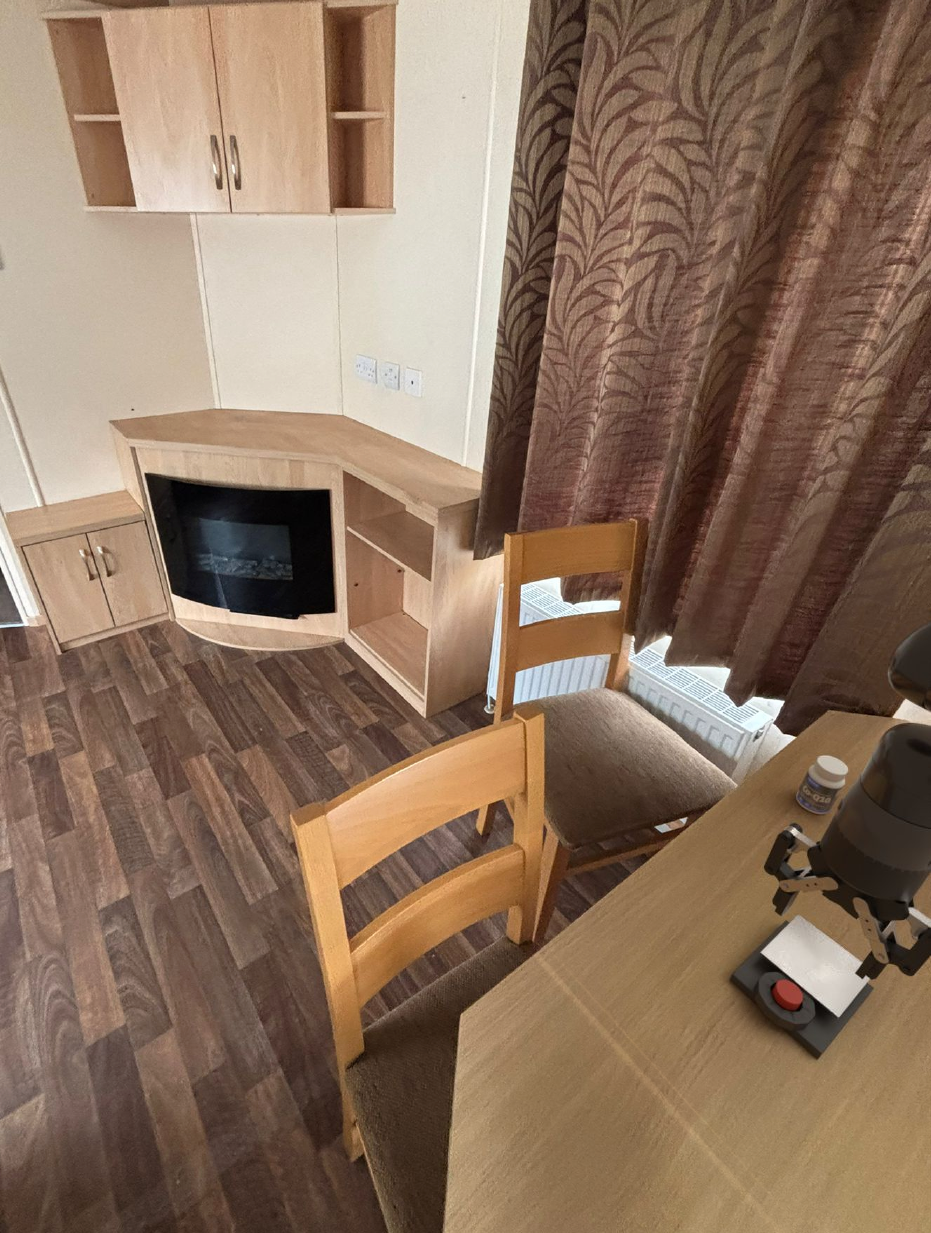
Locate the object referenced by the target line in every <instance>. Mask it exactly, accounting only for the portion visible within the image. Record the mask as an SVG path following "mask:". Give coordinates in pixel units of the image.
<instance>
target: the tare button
mask: <svg viewBox="0 0 931 1233" xmlns="http://www.w3.org/2000/svg"><path fill="white" fill-rule="evenodd" d="M772 994H773V997H774V999H775V1001H776V1002H777V1003H778V1004H779V1005H780V1006H781V1007H782V1008H784V1009H786V1010H791V1011H793V1010H796V1009H797V1008H798V1007H799V1005H800V1004H801V1002H802V1001H803V995H802V992H801V990H800V989H799V988H798V987H797V986H796V985H795V984H794V983H792V982H790V981H788V980H779V981H778V982H777V983H776V985H775V987H774V988H773V991H772Z"/></svg>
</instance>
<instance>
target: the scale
mask: <svg viewBox="0 0 931 1233" xmlns="http://www.w3.org/2000/svg"><path fill="white" fill-rule="evenodd" d="M790 922H791V921H788V920H785V921H784V922H783V923H781V924H780V925H779V926H778V928H777V929H775V930H774V931H773V932H772V933H771V935H769V937H768V938H767V939H766V940H764V941H763V942H762V944H761V945H759V946H758V947H757V948H756V949H755V951H753V953H752V954H751V955H749V956H748V958H746V960H744V961H743V962H742V964H740V966H738V967H737V968H736V970H734V972H732V974H731V975H730V977H729V982H730V983H731V984H732V985H734V986H735V987H736V988H737V989H738V990H739V991H740V992H741V993H742V994H744V995H745V996H746V997H747V998H748V999H749V1000H750V1001H751V1002H752V1003H754V1005H755V1006H757V1007H758V1008H759V1009H760V1010H761V1013H762V1014H764V1015H765V1016H766V1017H767V1019H769V1020H770V1021H771V1022H772V1023H773V1024H775V1025H776V1026H778V1027H780V1028H781V1029H782V1030H783V1031H785V1033H787V1034H788V1035H789V1036H790V1037H791V1038H792V1039H793V1040H794V1041H796V1042H797V1043H798V1044H799V1045H800V1046H801V1047H803V1049H805V1050H806V1051H807V1052H808V1054H810V1055H811V1056H812V1057H813V1058H815V1059H816V1060H819V1059H820V1058H821V1056H822V1055H823V1054H824V1053H825V1052H826V1050H827V1049H828V1048H829V1047H830V1045H831V1044H832V1042H833V1041H834V1040H835V1039H836V1038H837V1037H838V1035H839V1034H840V1032H841V1031H842V1030H843V1028H845V1026H846V1025H847V1024H848V1022H849V1021H850V1020H851V1019H852V1018H853V1016H855V1014H856V1012H857V1011H858V1010H859V1008H860V1007H862V1005H863V1004H864V1002H865V1001H866V1000H867V999H868V997H869V996H870V995H871V993H872V992H873V991H874V989H875V987H873V985H871V984H870V983H869V982H867V984H866V985H865V986H864V987H863V989H862V990H861V991H860V992H859V994H858V995H857V996H856V997H855V999H854V1000H853V1001H852V1002H851V1003H850V1005H849V1006H848V1007H847V1008H846V1010H845V1011H844V1012H843V1013H842V1015H841V1016H840V1017H839V1018H838V1019H836V1018H835V1017H834V1016H833V1015H832V1014H830V1013H829V1012H828V1011H827V1010H826V1009H825V1008H823V1007H822V1006H821V1005H820V1004H819V1003H817V1002H816V1001H815V1000H814V999H813V998H811V997H810V996H809V995H808V994H807V993H805V992H804V991H803V990H802V989H801V988H799V987H798V986H797V985H796V984H795V983H794V982H792V981H791V980H790V979H789V978H788V977H786V976H785V975H784V974H783V973H782V972H780V971H779V970H778V969H777V968H776V967H774V966H773V965H772V964H771V963H770V962H768V961H767V960H766V959H765V958H764V957H763V956H761V955H760V952H761V951H762V950H763V949H764V948H765V947H766V946H767V945H768V944H769V943H770V942H771V941H772V940H773V939H774V938H775V937H776V936H777V935H778V934H779V933H780V932H781V931H782V930H783V929H784V928H785V927H786V926H787V925H788V924H789V923H790ZM779 980H788V981H790V982H792V983H794V984H795V985H796V986H797V987H798V988H799V989H800V990H801V992H802V995H803V1001H802V1002H801V1004H800V1005H799V1007H798V1008H797V1009H796V1010H793V1011H791V1010H786V1009H784V1008H782V1007H781V1006H780V1005H779V1004H778V1003H777V1002H776V1001H775V999H774V997H773V994H772V991H773V988H774V987H775V985H776V983H777V982H778V981H779Z"/></svg>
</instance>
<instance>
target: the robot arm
mask: <svg viewBox="0 0 931 1233" xmlns="http://www.w3.org/2000/svg"><path fill="white" fill-rule="evenodd" d="M886 670H887V671H886V672H887V679H888V683H889V684H890V687H891V688H892V689H893V691H895V692H896V693H897V694H898V695H899V696H901V697H902V698H903V699H905V700H906V701H908V702H910V703H912V704H913V705H916V706H918V707H920V708H921V709H923V710H925V711H927V712H928V713H931V620H929V621H928V622H926V623H924V624H922V625H920V626H919V627H918V628H916V629H914V630H913V631H912V632H910V633H909V634H908V635H906V636H905V637H904V638H903V639H902V640H901V641H900V642H899V643H898V645H897V646H896V647H895V648H894V650H893V651H892V653H891V655H890V656H889V660H888V664H887V668H886ZM800 852H805V853H806V857H807V860H808V862H809V865H808V866H806V867H800V868H799V867H798V868H792V866H790V865H789V861H790V859H791V857H792V855H793V854H799V853H800ZM763 869H764V872H765V873H767V874H768V875H769V876H773V877H775V878H776V879H777V881H778V888H777V889H776V890H775V894H774V895H773V897H772V899H771V902H772V903H771V904H772V905H773V906H774V907H775V909H774V912H775V913H776V914H777V915H779V917H783V916H784V915H785V914H786V912H787V911H789V910H790V909H791V907H792V906H793V904H794V902H795V901H796V899H797V897H798V895H799V893H800V892H802V893H810V892H817V891H820V892H822V893H821V895H822V896H823V897H825V898H826V899H827V900H828V901H830V902H832V903H834V904H836V905H838V906H840V908H842V909H843V910H844V911H845V912H846V913H847V914H848V915H850V916H851V917H852V918H853V919H855V920H858V919H859V922H860V926H861V929H862V932H863V936H864V938H865V939H868V941H869V942H868V943H869V946H870V949H871V950H870V951H869V953H868V954H867V955H866V957H865V958H864V960H863V961H862V964H861V965H860V967H859V968H858V970H857V971H856V972H855V974H856V975H857V976H859V977H860V978H861V979H864V977H865V976H867V977H868V978H870V981H872V980H873V981H874V980H877V978H878V977H879V976H880V975H881V974H882V972H883V971H884V969H885V968H886V967H887V965H892V966H893V965H894V966H895V967H897V968H898V970H899V971H900V972H901V973H902V974H903V975H905V976H907V977H914V976H915V975H916V974H917V973H918V971H919V970H920V969H921V968H922V967H923V965H924V964H925V963H926V962H927V961H928V960H929V959H930V958H931V918H929V917H928V916H927V915H926V914H924V913H923V912H921V911H920V910H918V909H917V908H915V902H914V897H915V895H916V894H917V893H918V892H919V891H920V889H921V887H922V886H923V884H924V883H925V881H927V879H928V877H929V876H930V875H931V725H930V724H925V723H919V722H903V723H902V722H901V723H899V724H895V725H893V726H891V727H890V728H889V729H887V730H886V731H885V732H884V734H883V735H882V736H881V737H880V739H879V740H878V742H877V744H876V746H875V748H874V749H873V752H872V754H871V755H870V757H869V760H868V761H867V763H866V765H865V767H864V768H863V770H862V772H861V773H860V775H859V776H858V778H857V779H856V780H855V781H854V782H853V783H852V785H851V786H850V787H849V788H848V790H847V792H845V795H844V797H843V798H841V799H840V801H839V803H838V805H837V810H836V811H835V812H834V816H832V819H831V821H830V822H829V824H828V826H827V828H826V830H825V832H824V834H823V835H822V837H821V839H820V840H818V841H814V840H813V839H811V838H809V837H808V836H807V835H805V834H803V827H802V826H801V825H800V824H798V823H797V822H791V823H790V824H789V825H787V826H786V827H785V828H784V829H782V831H780V832H779V833H778V834H777V836H776V838H775V840H774V843H773V845H772V847H771V849H770V851H769V853H768V855H767V858H766V860H765V863H764V865H763ZM897 921H898V922H899V921H900V922H901V921H907V922H908V923H909V925H910V930H909V931H910V934H911V939H912V940H914V942H915V943H914V944H913V945H912V946H911V948H910V949H909V948H906V947H904V946H902V945H901V943H900V940H899V937H898V933H897V930H896V929H897Z"/></svg>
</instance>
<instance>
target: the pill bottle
mask: <svg viewBox="0 0 931 1233" xmlns="http://www.w3.org/2000/svg"><path fill="white" fill-rule="evenodd" d="M848 773H849V768H848V766H847V765H846V763H845V762H844V761H842V760H841V759H839V758H837V757H834V756H832V755H820V756H818V757H817V758H816V760H815V762H814V764H812V765H810V766H809V768H808V769H807V771H806V774H805V776H804V778H803V780H802V782H801V784H800V785H799V787H798V790H797V792H796V794H795V799H796V801H797V803H798V804H799V806H801V807H802V808H803V809H804V810H806V811H808V812H809V813H813V814H816V815H826V814H829V813H830V812H831V810H832V809H833V807H834V805H835V803H836V802H837V799H838V798H839V796H840V795H841V793H842V791H843V788H844V787H845V785H846V777H847V775H848Z"/></svg>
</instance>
